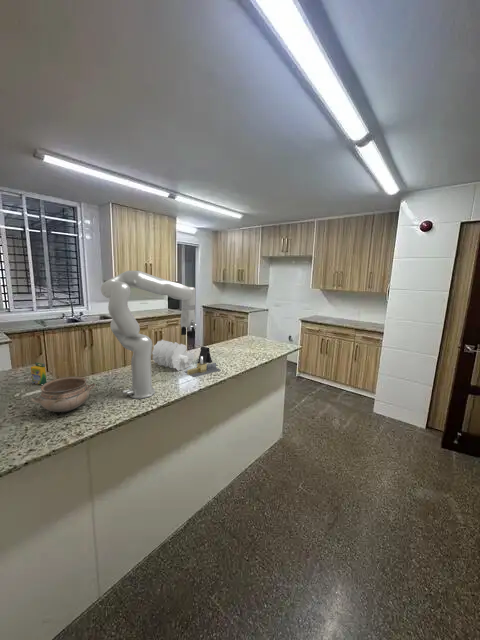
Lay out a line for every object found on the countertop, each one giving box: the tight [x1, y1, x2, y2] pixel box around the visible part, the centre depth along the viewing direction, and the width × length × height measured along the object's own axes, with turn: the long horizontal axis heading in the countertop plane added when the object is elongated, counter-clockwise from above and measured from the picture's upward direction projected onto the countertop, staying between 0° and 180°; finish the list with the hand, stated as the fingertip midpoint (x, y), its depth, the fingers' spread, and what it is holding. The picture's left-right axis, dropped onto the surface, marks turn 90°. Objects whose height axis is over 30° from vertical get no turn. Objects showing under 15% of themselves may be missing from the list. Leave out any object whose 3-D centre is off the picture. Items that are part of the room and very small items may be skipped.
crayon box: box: [30, 362, 48, 385], centre depth 149 cm, size 7×3×12 cm, turn 73°
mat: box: [184, 367, 222, 378], centre depth 175 cm, size 21×12×1 cm, turn 130°
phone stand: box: [196, 345, 213, 365], centre depth 190 cm, size 9×6×12 cm, turn 143°
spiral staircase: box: [151, 338, 195, 372], centre depth 180 cm, size 18×18×25 cm
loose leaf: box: [186, 362, 207, 376], centre depth 172 cm, size 12×4×5 cm, turn 131°
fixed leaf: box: [200, 356, 218, 371], centre depth 177 cm, size 12×3×10 cm, turn 130°
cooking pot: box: [30, 376, 96, 414], centre depth 122 cm, size 25×19×12 cm
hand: (187, 336), depth 161 cm, fingers open, 9 cm apart
